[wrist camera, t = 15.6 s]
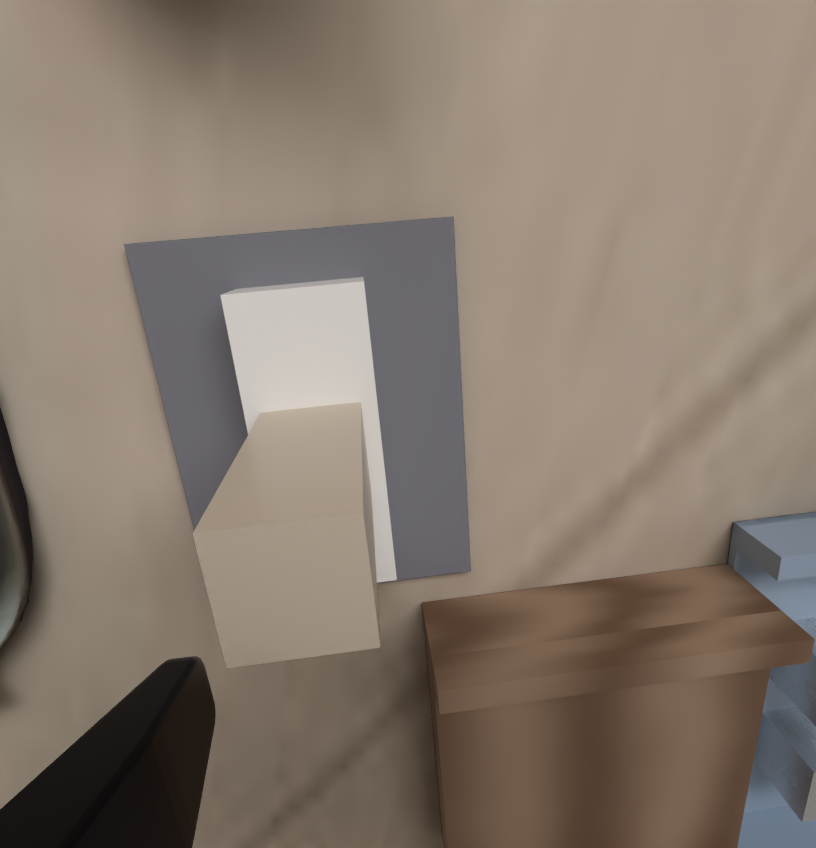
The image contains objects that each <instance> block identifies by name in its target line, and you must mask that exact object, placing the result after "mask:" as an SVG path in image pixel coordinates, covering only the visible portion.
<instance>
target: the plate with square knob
mask: <svg viewBox="0 0 816 848" xmlns="http://www.w3.org/2000/svg"><path fill="white" fill-rule="evenodd" d="M220 296H221V301H222V306H223V311H224V316H225V321H226V326H227V331H228V336H229V341H230V346H231V351H232V356H233V361H234V366H235V371H236V376H237V382H238V387H239V392H240V397H241V402H242V407H243V412H244V417H245V422H246V427H247V432H248V436H247V438H246V440H245V442H244V443H243V445H242V447H241V449H240V450H239V452H238V454H237V456H236V458H235V459H234V461H233V463H232V465H231V466H230V468H229V470H228V472H227V473H226V475H225V477H224V479H223V481H222V482H221V484H220V486H219V488H218V489H217V491H216V493H215V495H214V496H213V498H212V500H211V502H210V504H209V505H208V507H207V509H206V511H205V512H204V514H203V516H202V518H201V520H200V521H199V523H198V525H197V527H196V528H195V530H194V532H193V538H194V542H195V546H196V550H197V554H198V558H199V562H200V566H201V570H202V574H203V578H204V582H205V586H206V590H207V594H208V598H209V601H210V605H211V609H212V613H213V617H214V621H215V625H216V629H217V633H218V637H219V641H220V645H221V649H222V653H223V657H224V661H225V664H226V668H227V669H228V668H235V667H243V666H250V665H257V664H265V663H272V662H279V661H287V660H294V659H301V658H309V657H316V656H323V655H331V654H338V653H346V652H353V651H360V650H368V649H375V648H381V646H380V629H379V612H378V595H377V583H378V582H386V581H394V580H397V576H396V567H395V558H394V549H393V540H392V531H391V522H390V512H389V503H388V494H387V485H386V476H385V467H384V458H383V449H382V440H381V431H380V422H379V413H378V403H377V394H376V385H375V376H374V367H373V358H372V349H371V340H370V331H369V322H368V313H367V303H366V294H365V285H364V278H363V277H357V278H347V279H336V280H326V281H315V282H305V283H294V284H283V285H273V286H262V287H252V288H241V289H235V290H232V291H229V292H227V293H224V294H222V295H220Z"/></svg>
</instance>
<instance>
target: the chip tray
mask: <svg viewBox="0 0 816 848" xmlns="http://www.w3.org/2000/svg"><path fill="white" fill-rule="evenodd" d="M728 564H729V565H730V566H731V567H732V568H733V569H734V570H735V571H737V572H738V573H739V574H740V575H741V576H742V577H744V578H745V579H746V580H747V581H748V582H749V583H750V584H752V585H753V586H754V587H755V588H756V589H757V590H759V591H760V592H761V593H762V594H763V595H764V596H765V597H767V598H768V599H769V600H770V601H771V602H772V603H774V604H775V605H776V606H777V607H778V608H779V609H780V610H782V611H783V612H784V613H785V614H786V615H787V616H789V617H790V618H791V619H792V620H799V619H806V618H814V617H816V512H811V513H803V514H795V515H787V516H778V517H770V518H762V519H754V520H746V521H738V522H733V529H732V536H731V543H730V551H729V558H728ZM792 707H797V706H796V705H795V704H794V703H793V702H792V701H791V700H790V699H789V697H788V696H787V695H786V694H785V693H784V692H783V691H782V690H781V689H780V688H779V687H778V686H777V685H776V684H775V683H774V682H773V681H772V680H771V678H770V677H769V680H768V686H767V691H766V696H765V702H764V707H763V712H765V711H771V710H778V709H785V708H792ZM737 848H816V820H813V821H807V822H801V820H800V819H799V818H798V816H797V815H796V814H795V813H794V811H793V810H792V809H791V807H790V806H789V805H788V803H787V802H786V801H785V800H784V798H783V797H782V796H781V794H780V793H779V792H778V790H777V789H776V788H775V787H774V785H773V784H772V783H771V781H770V780H769V779H768V777H767V776H766V775H765V773H764V772H763V771H762V770H761V768H760V767H759V766H758V764H757V763H756V762H755V760H754V761H753V766H752V772H751V777H750V782H749V788H748V793H747V798H746V804H745V809H744V814H743V820H742V825H741V831H740V836H739V841H738V847H737Z"/></svg>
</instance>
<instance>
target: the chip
mask: <svg viewBox="0 0 816 848" xmlns="http://www.w3.org/2000/svg"><path fill="white" fill-rule="evenodd" d="M793 621H794V622H795V623H797V624H798V625H799V626H800V627H801V628H802V629H804V630H805V631H806V632H807V633H808V634H809V635H810V636H812V637H813V638H814V639H815V641H814V645H813V650H812V655H811V659H810V663H803V664H795V665H788V666H781V667H774V668H771V670H770V675H769V677H770V678H771V680H772V681H773V682H774V683H775V684H776V685H777V686H778V687H779V688H780V689H781V690H782V691H783V692H784V693H785V694H786V695H787V696H788V697H789V699H790V700H791V701H792V702H793V703H794V704H795V705H796V706H797V707H798V708H799V709H800V710H801V711H802V712H803V713H804V714H805V715H806V716H807V717H808V719H809V720H810V721H811V722H812V723H813V724H814V725H815V726H816V617H814V618H806V619H799V620H793Z"/></svg>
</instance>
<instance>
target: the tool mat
mask: <svg viewBox="0 0 816 848" xmlns="http://www.w3.org/2000/svg"><path fill="white" fill-rule="evenodd" d="M124 246H125V250H126V254H127V258H128V263H129V267H130V271H131V275H132V279H133V283H134V287H135V291H136V295H137V299H138V303H139V307H140V311H141V315H142V320H143V324H144V328H145V332H146V336H147V340H148V344H149V348H150V352H151V356H152V360H153V364H154V368H155V372H156V376H157V381H158V385H159V389H160V393H161V397H162V401H163V405H164V409H165V413H166V417H167V421H168V425H169V429H170V433H171V437H172V442H173V446H174V450H175V454H176V458H177V462H178V466H179V470H180V474H181V478H182V482H183V486H184V490H185V494H186V499H187V503H188V507H189V511H190V515H191V519H192V523H193V527H194V530H195V528H196V527H197V525H198V523H199V521H200V520H201V518H202V516H203V514H204V512H205V511H206V509H207V507H208V505H209V504H210V502H211V500H212V498H213V496H214V495H215V493H216V491H217V489H218V488H219V486H220V484H221V482H222V481H223V479H224V477H225V475H226V473H227V472H228V470H229V468H230V466H231V465H232V463H233V461H234V459H235V458H236V456H237V454H238V452H239V450H240V449H241V447H242V445H243V443H244V442H245V440H246V438H247V436H248V432H247V427H246V422H245V417H244V412H243V407H242V402H241V397H240V392H239V387H238V382H237V376H236V371H235V366H234V361H233V356H232V351H231V346H230V341H229V336H228V331H227V326H226V321H225V316H224V311H223V306H222V301H221V296H220V295H222V294H224V293H227V292H229V291H232V290H235V289H241V288H252V287H262V286H273V285H283V284H294V283H305V282H315V281H326V280H336V279H347V278H357V277H363V278H364V285H365V294H366V303H367V313H368V322H369V331H370V340H371V349H372V358H373V367H374V376H375V385H376V394H377V403H378V413H379V422H380V431H381V440H382V449H383V458H384V467H385V476H386V485H387V494H388V503H389V512H390V522H391V531H392V540H393V549H394V558H395V567H396V576H397V580H403V579H411V578H419V577H428V576H436V575H444V574H452V573H460V572H468V571H471V565H470V545H469V524H468V504H467V483H466V463H465V442H464V422H463V401H462V381H461V360H460V340H459V319H458V299H457V278H456V258H455V237H454V217H443V218H431V219H419V220H407V221H395V222H383V223H371V224H359V225H347V226H336V227H324V228H312V229H300V230H288V231H276V232H264V233H252V234H240V235H228V236H216V237H204V238H193V239H181V240H169V241H157V242H145V243H133V244H124ZM394 581H395V580H394ZM386 582H387V581H386ZM378 583H379V582H378Z"/></svg>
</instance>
